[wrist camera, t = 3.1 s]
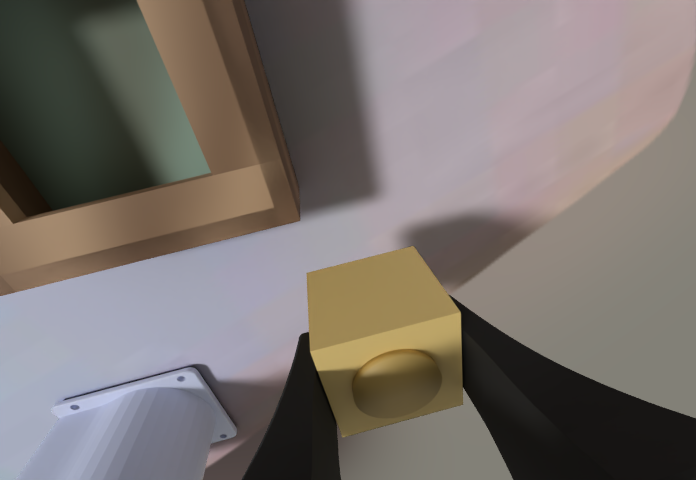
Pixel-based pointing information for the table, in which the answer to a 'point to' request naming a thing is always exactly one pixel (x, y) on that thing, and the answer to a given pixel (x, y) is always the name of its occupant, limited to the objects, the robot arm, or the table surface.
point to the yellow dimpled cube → (384, 340)
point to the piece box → (132, 135)
